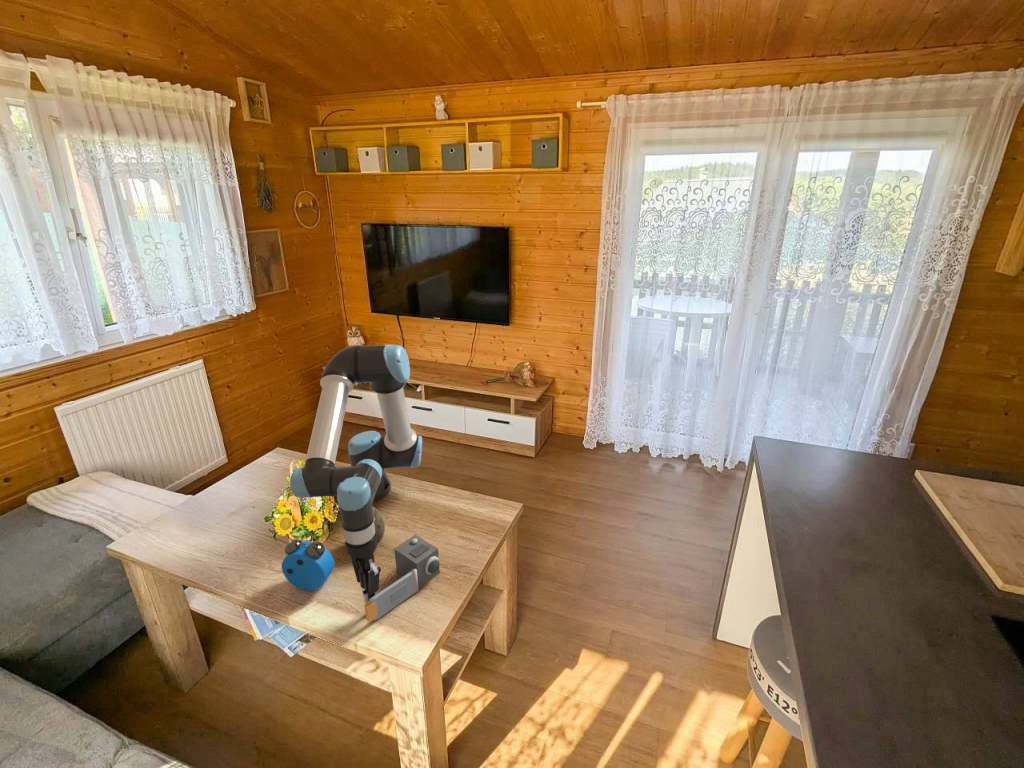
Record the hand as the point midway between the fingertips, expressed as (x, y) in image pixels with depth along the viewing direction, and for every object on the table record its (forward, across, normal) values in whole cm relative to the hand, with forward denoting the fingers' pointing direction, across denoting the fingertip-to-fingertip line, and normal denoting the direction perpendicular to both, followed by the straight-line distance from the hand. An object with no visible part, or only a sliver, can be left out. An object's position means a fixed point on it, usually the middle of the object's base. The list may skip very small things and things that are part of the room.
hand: (371, 606), depth 129 cm
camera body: (+2, +3, -17) cm, 18 cm away
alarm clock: (+2, +21, +7) cm, 23 cm away
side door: (+2, -3, -5) cm, 6 cm away
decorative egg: (+3, +25, -13) cm, 28 cm away
